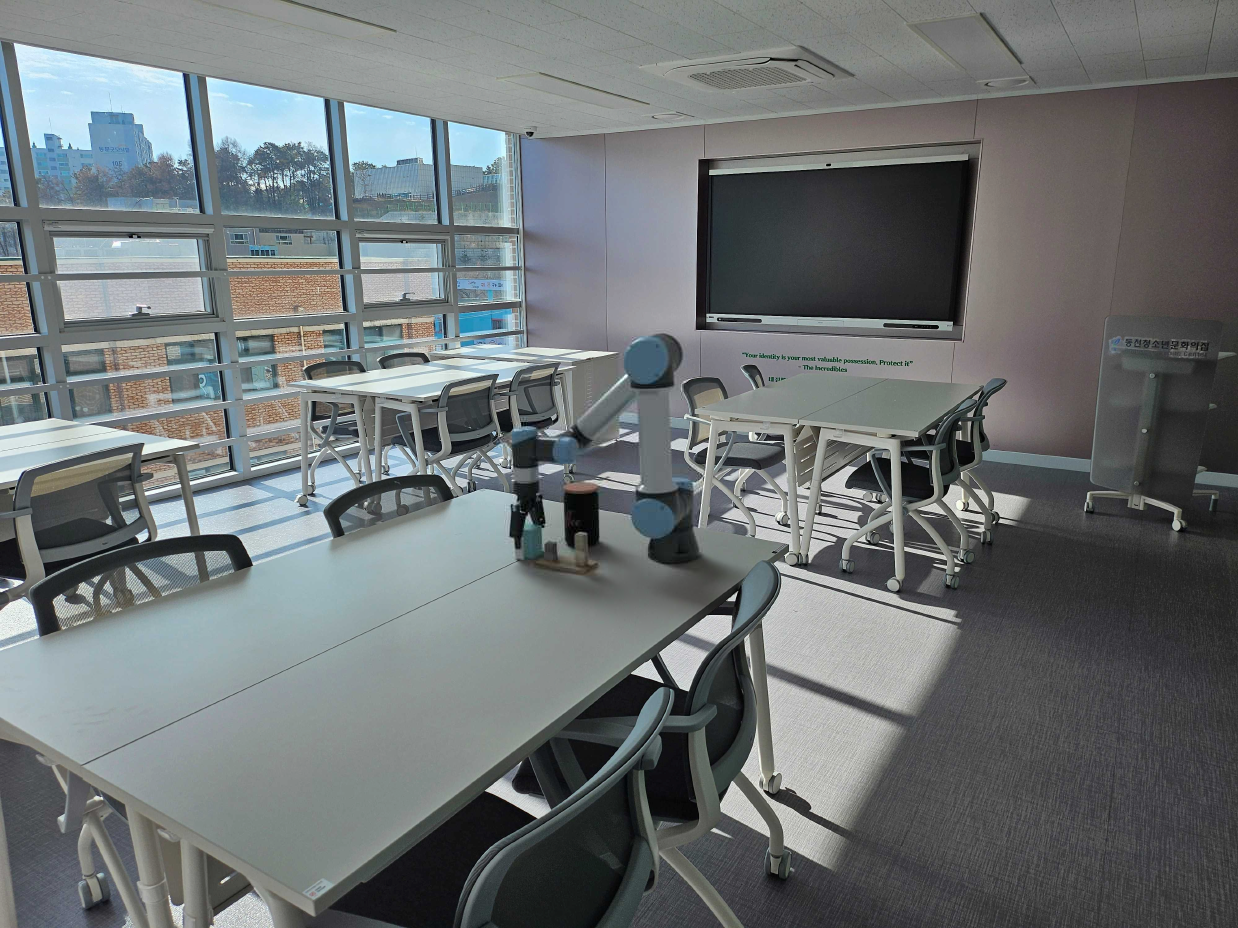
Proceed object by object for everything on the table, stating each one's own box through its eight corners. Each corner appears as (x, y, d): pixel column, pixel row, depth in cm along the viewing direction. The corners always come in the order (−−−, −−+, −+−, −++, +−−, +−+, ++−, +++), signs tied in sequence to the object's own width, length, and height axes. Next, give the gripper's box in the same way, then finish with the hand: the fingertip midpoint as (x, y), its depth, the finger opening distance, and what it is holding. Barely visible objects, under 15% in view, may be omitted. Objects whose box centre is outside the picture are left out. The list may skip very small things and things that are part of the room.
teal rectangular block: (526, 550, 250) (525, 523, 248) (542, 552, 248) (541, 525, 246) (516, 556, 245) (515, 528, 243) (532, 558, 243) (531, 530, 241)
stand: (549, 557, 243) (548, 524, 241) (597, 565, 236) (597, 531, 234) (535, 566, 237) (533, 532, 234) (584, 574, 229) (583, 539, 227)
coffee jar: (559, 540, 259) (558, 484, 255) (591, 535, 263) (590, 480, 259) (572, 550, 250) (570, 492, 246) (605, 545, 254) (603, 488, 250)
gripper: (535, 470, 252) (537, 541, 258) (493, 487, 234) (497, 563, 239) (556, 473, 249) (558, 544, 254) (516, 490, 230) (519, 567, 236)
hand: (528, 553), depth 247 cm, fingers open, 9 cm apart
